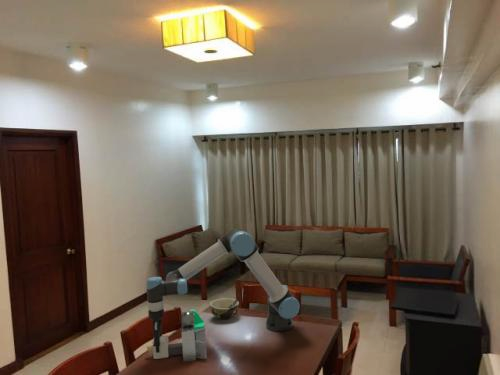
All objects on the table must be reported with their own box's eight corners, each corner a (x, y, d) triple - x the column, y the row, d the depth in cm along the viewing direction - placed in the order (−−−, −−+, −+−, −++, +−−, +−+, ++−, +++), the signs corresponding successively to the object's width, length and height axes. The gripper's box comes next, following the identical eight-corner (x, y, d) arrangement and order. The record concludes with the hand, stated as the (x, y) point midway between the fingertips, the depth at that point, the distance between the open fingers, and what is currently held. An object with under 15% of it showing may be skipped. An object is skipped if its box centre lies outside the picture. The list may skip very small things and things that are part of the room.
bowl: (207, 323, 248) (206, 307, 248) (214, 312, 266) (213, 297, 265) (236, 323, 245) (235, 307, 245) (242, 312, 263) (241, 297, 262)
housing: (205, 342, 221) (203, 304, 219) (207, 359, 202) (204, 317, 201) (184, 345, 219) (181, 306, 218) (183, 361, 200) (180, 319, 199)
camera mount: (182, 333, 236) (181, 315, 235) (183, 327, 243) (182, 310, 242) (204, 330, 237) (203, 312, 237) (204, 325, 245) (202, 308, 244)
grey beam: (205, 346, 215) (203, 331, 214) (205, 352, 208) (204, 336, 207) (148, 353, 211) (147, 337, 210) (147, 359, 204) (146, 343, 203)
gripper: (150, 303, 216) (153, 347, 217) (146, 317, 196) (149, 365, 198) (165, 301, 217) (168, 345, 218) (162, 315, 197) (165, 363, 199)
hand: (159, 354), depth 208 cm, fingers closed on grey beam, 7 cm apart
